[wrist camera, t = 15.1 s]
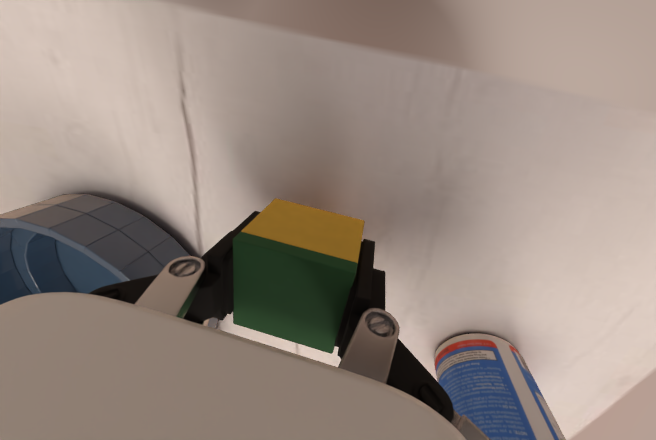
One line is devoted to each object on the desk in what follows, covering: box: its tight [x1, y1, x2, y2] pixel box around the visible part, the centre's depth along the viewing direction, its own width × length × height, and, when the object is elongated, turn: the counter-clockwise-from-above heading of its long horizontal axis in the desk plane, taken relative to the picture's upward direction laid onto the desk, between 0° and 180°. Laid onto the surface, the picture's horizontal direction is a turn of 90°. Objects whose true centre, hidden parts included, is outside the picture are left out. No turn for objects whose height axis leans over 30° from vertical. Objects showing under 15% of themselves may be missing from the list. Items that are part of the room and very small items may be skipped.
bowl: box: [0, 194, 218, 329], centre depth 19 cm, size 16×16×4 cm
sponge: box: [233, 198, 364, 353], centre depth 12 cm, size 4×4×4 cm
